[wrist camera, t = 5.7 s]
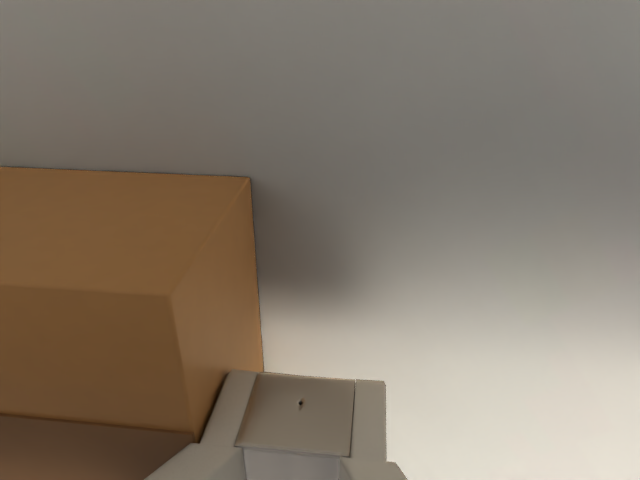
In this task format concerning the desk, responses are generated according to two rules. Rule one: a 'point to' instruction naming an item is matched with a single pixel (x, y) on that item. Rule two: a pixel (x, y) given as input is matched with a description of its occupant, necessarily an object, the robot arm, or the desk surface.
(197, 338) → the cardboard box
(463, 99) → the desk surface
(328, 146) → the desk surface
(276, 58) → the desk surface
